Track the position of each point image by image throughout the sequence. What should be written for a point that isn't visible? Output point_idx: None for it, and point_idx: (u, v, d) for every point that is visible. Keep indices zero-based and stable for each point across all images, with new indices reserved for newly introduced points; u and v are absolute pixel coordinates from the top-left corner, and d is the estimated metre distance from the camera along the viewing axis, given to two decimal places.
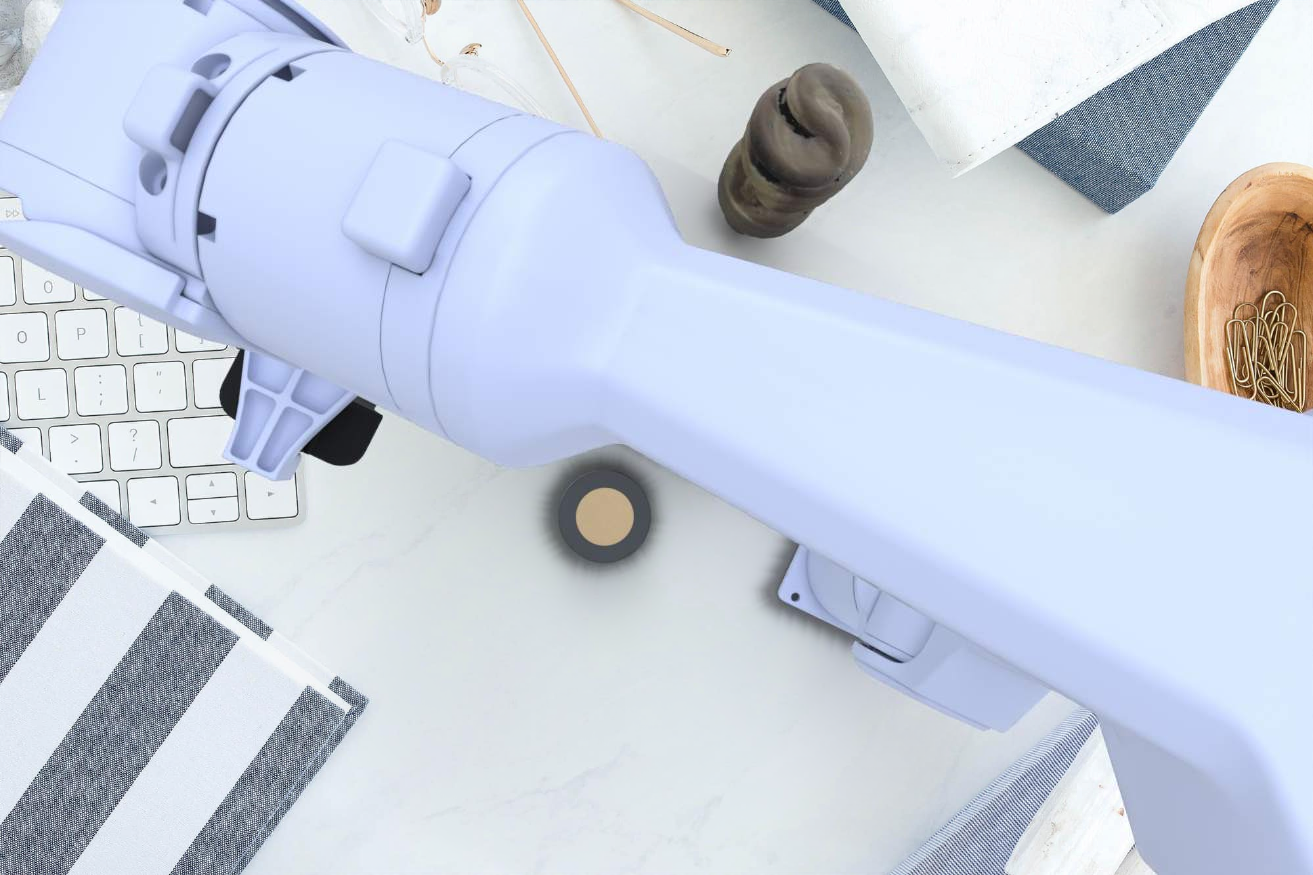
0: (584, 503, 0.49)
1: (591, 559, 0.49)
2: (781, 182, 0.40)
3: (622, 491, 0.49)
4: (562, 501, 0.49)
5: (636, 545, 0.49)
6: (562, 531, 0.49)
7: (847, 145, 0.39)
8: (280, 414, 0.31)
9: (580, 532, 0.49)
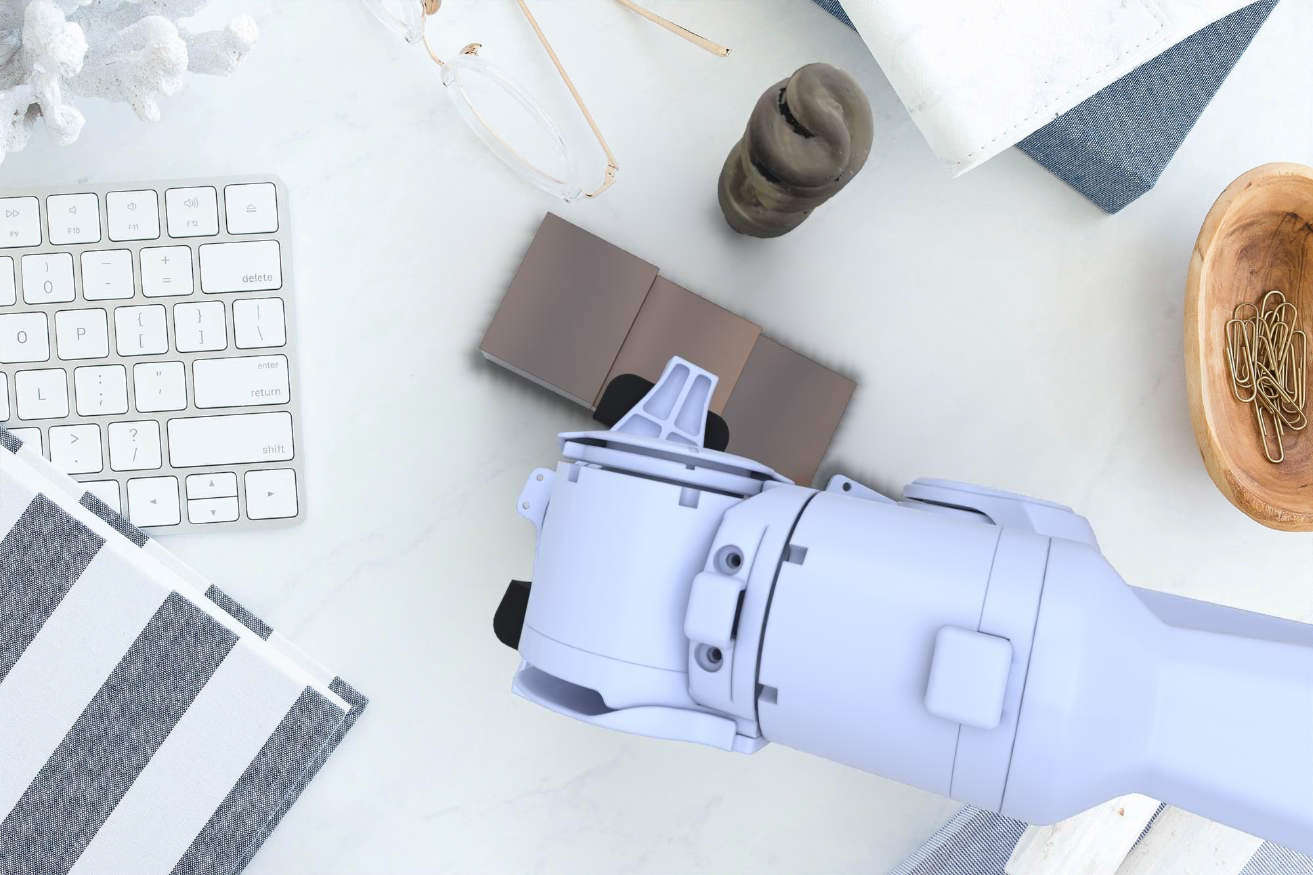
0: None
1: None
2: (781, 182, 0.40)
3: None
4: None
5: None
6: None
7: (847, 145, 0.39)
8: None
9: None
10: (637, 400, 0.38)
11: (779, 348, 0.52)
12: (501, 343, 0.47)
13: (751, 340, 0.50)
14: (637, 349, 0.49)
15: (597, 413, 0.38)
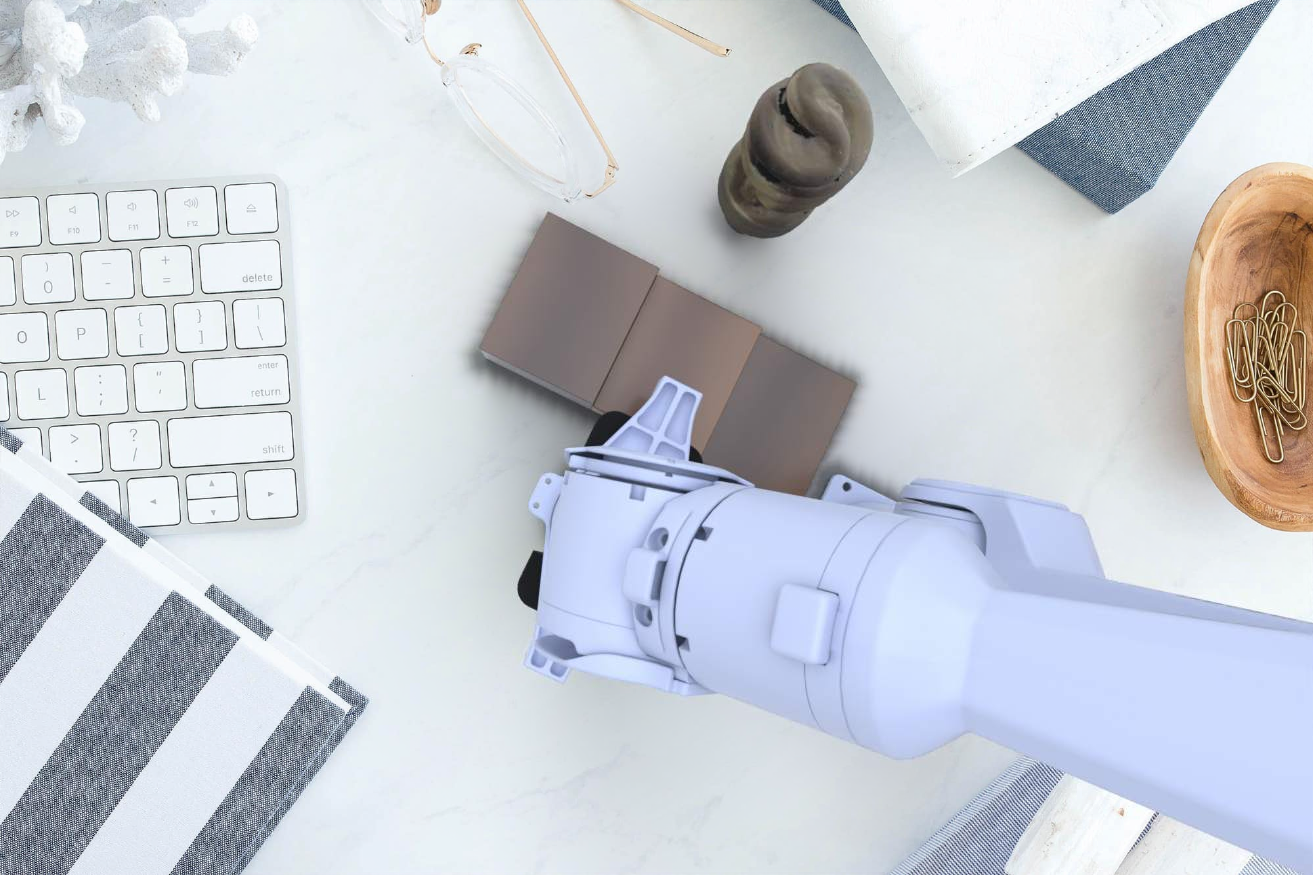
0: None
1: None
2: (781, 182, 0.40)
3: None
4: None
5: None
6: None
7: (847, 145, 0.39)
8: None
9: None
10: None
11: (779, 348, 0.52)
12: (501, 343, 0.47)
13: (751, 340, 0.50)
14: (637, 349, 0.49)
15: (587, 445, 0.44)
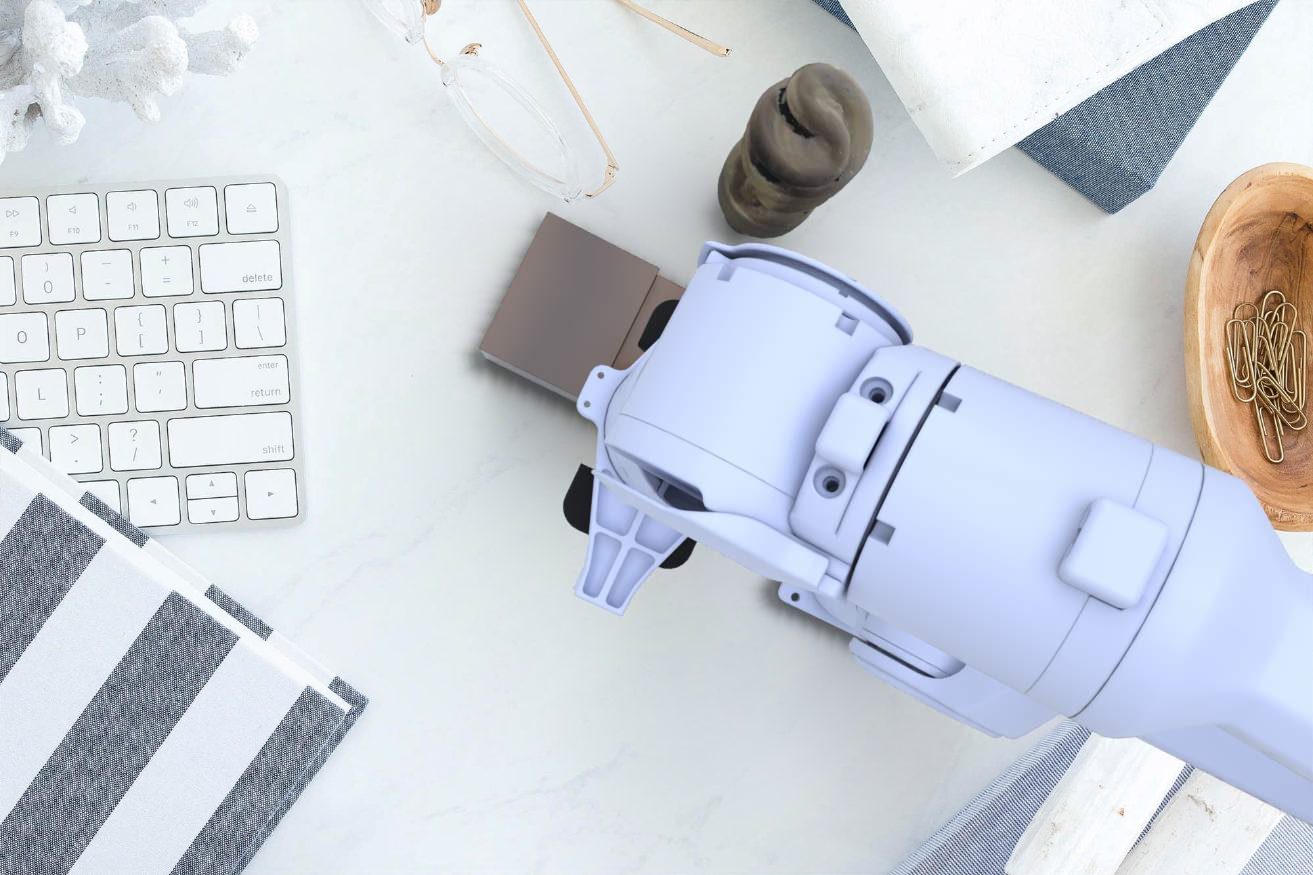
0: None
1: None
2: (781, 182, 0.40)
3: None
4: None
5: None
6: None
7: (847, 145, 0.39)
8: (625, 554, 0.34)
9: None
10: None
11: None
12: (501, 343, 0.47)
13: None
14: (637, 349, 0.49)
15: (642, 340, 0.37)
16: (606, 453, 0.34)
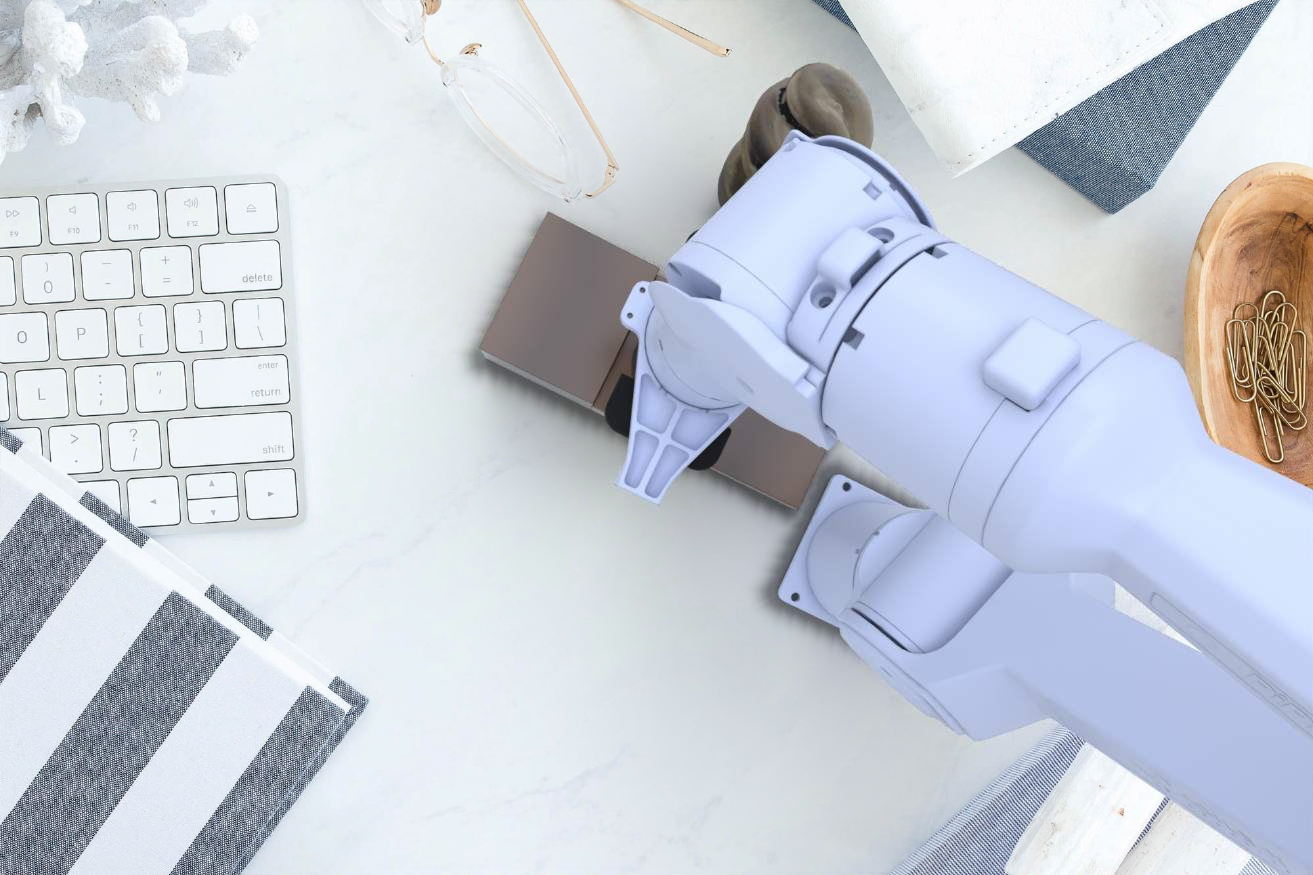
0: None
1: None
2: None
3: None
4: None
5: None
6: None
7: None
8: (662, 450, 0.38)
9: None
10: None
11: None
12: (501, 343, 0.47)
13: None
14: None
15: None
16: (646, 359, 0.38)
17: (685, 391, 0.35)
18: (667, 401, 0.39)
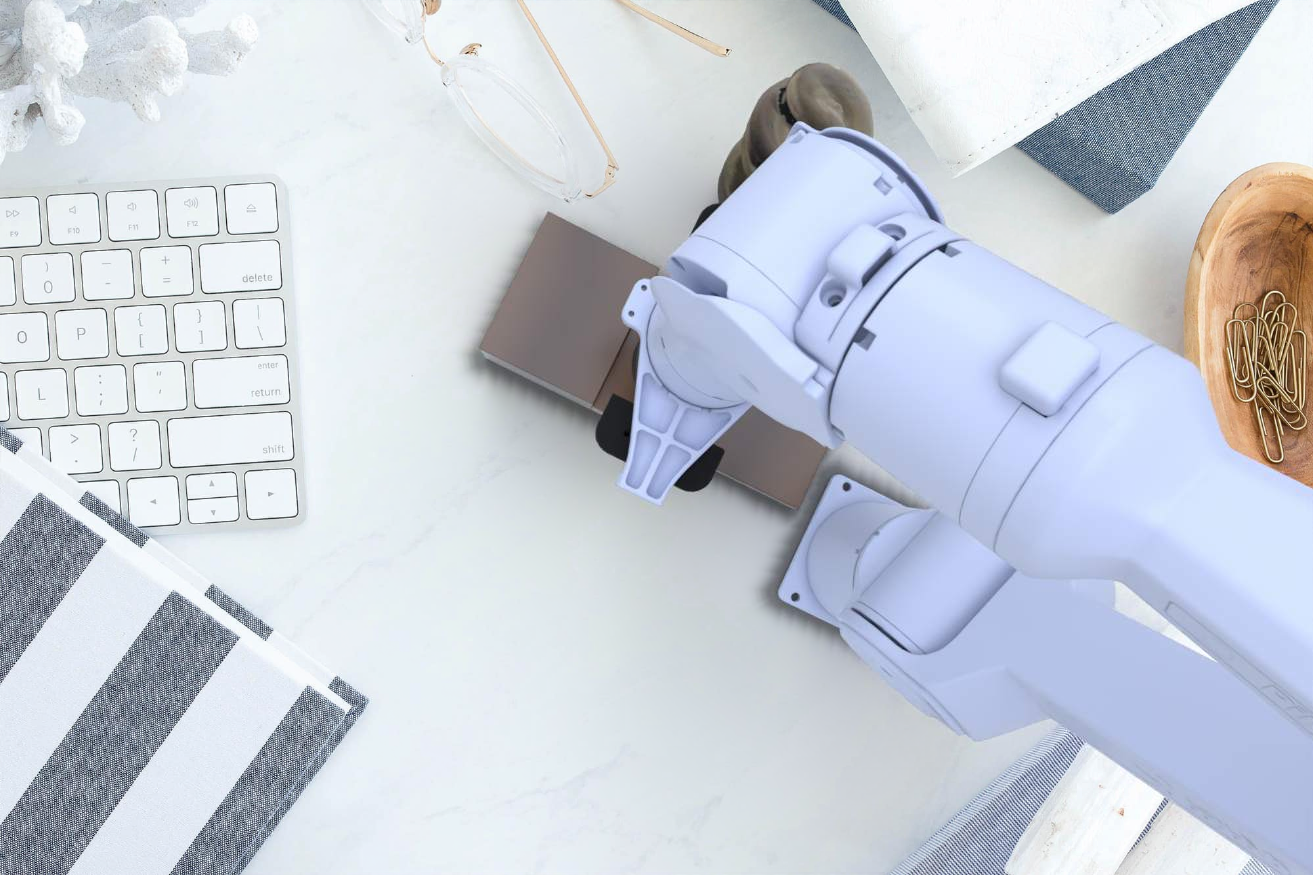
0: None
1: None
2: None
3: None
4: (639, 345, 0.47)
5: None
6: None
7: None
8: (664, 450, 0.38)
9: None
10: None
11: None
12: (501, 343, 0.47)
13: None
14: None
15: None
16: (648, 358, 0.38)
17: (687, 390, 0.35)
18: (669, 400, 0.38)
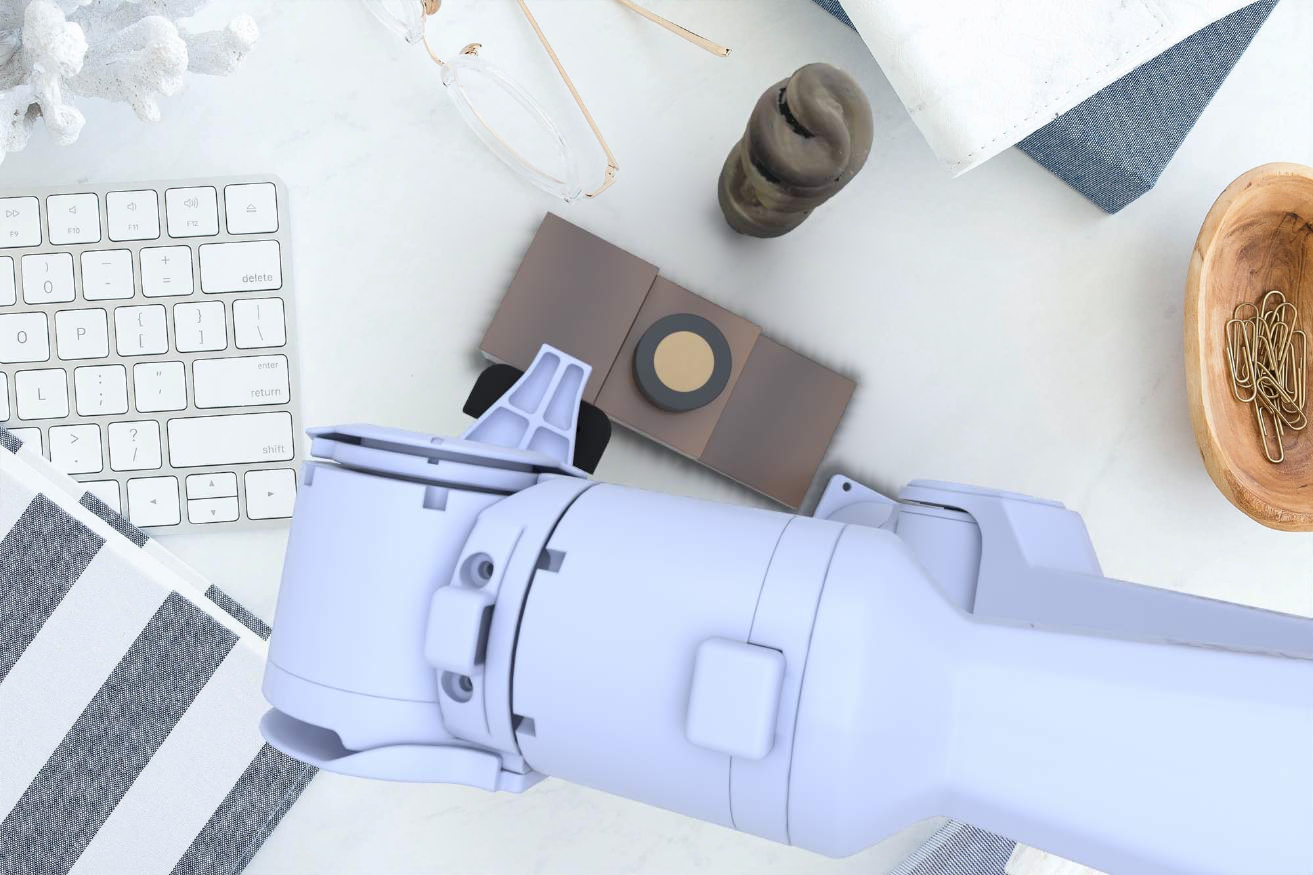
0: (662, 347, 0.47)
1: (670, 406, 0.47)
2: (781, 182, 0.40)
3: (701, 335, 0.47)
4: (639, 345, 0.47)
5: (717, 392, 0.47)
6: (640, 376, 0.47)
7: (847, 145, 0.39)
8: None
9: (658, 377, 0.47)
10: None
11: (779, 348, 0.52)
12: (501, 343, 0.47)
13: (751, 340, 0.50)
14: None
15: (467, 406, 0.35)
16: None
17: None
18: None
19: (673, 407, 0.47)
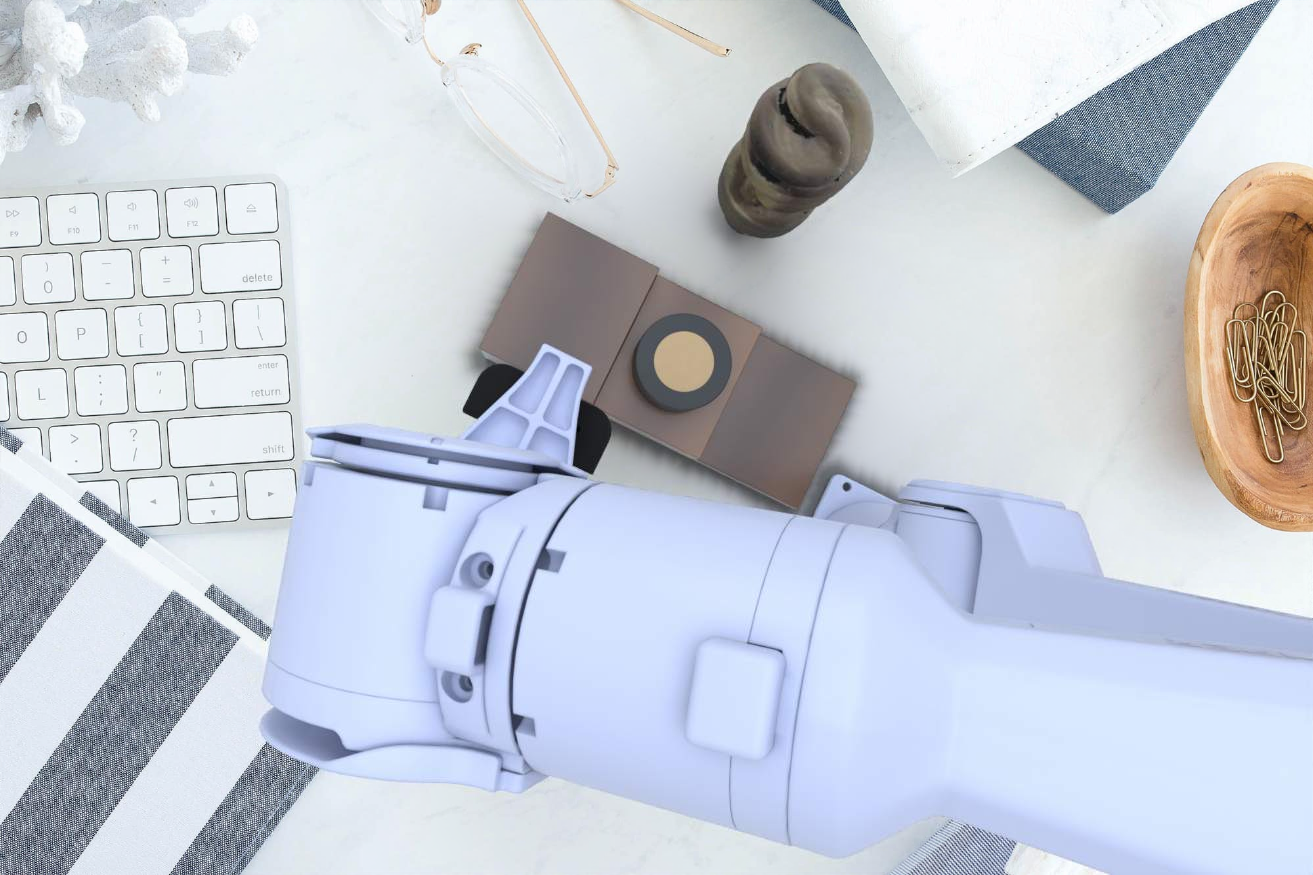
0: (662, 347, 0.47)
1: (670, 406, 0.47)
2: (781, 182, 0.40)
3: (701, 335, 0.47)
4: (639, 345, 0.47)
5: (717, 392, 0.47)
6: (640, 376, 0.47)
7: (847, 145, 0.39)
8: None
9: (658, 377, 0.47)
10: None
11: (779, 348, 0.52)
12: (501, 343, 0.47)
13: (751, 340, 0.50)
14: None
15: (467, 406, 0.35)
16: None
17: None
18: None
19: (673, 407, 0.47)
